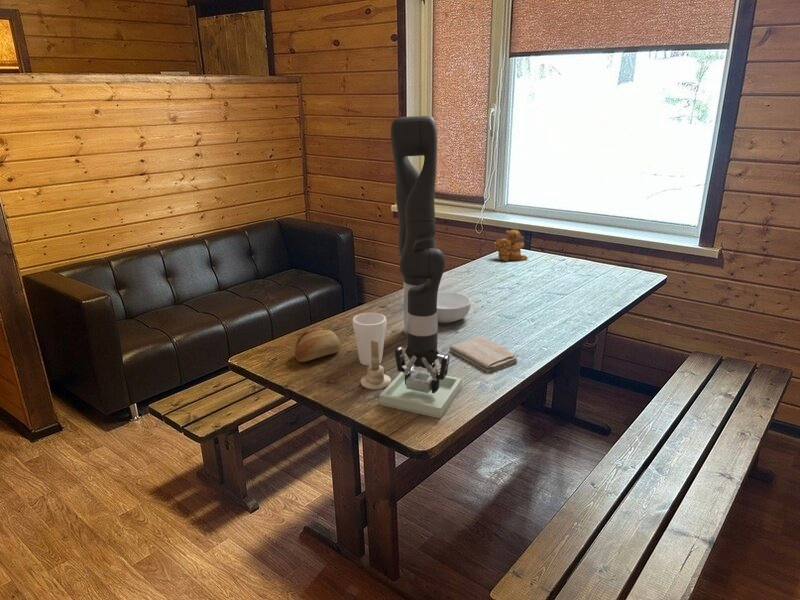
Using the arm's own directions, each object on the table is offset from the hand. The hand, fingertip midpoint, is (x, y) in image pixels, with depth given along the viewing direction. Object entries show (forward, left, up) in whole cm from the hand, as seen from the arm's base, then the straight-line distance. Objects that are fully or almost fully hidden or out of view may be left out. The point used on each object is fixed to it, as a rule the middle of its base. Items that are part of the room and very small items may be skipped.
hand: (421, 389), depth 147 cm
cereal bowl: (-51, -12, -2) cm, 52 cm away
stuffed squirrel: (-128, -9, -2) cm, 129 cm away
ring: (0, 0, +1) cm, 1 cm away
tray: (0, 0, -2) cm, 2 cm away
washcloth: (-28, +8, -3) cm, 29 cm away
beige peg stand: (-2, -14, -2) cm, 14 cm away
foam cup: (-13, -21, -2) cm, 25 cm away
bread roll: (-10, -37, -2) cm, 38 cm away
